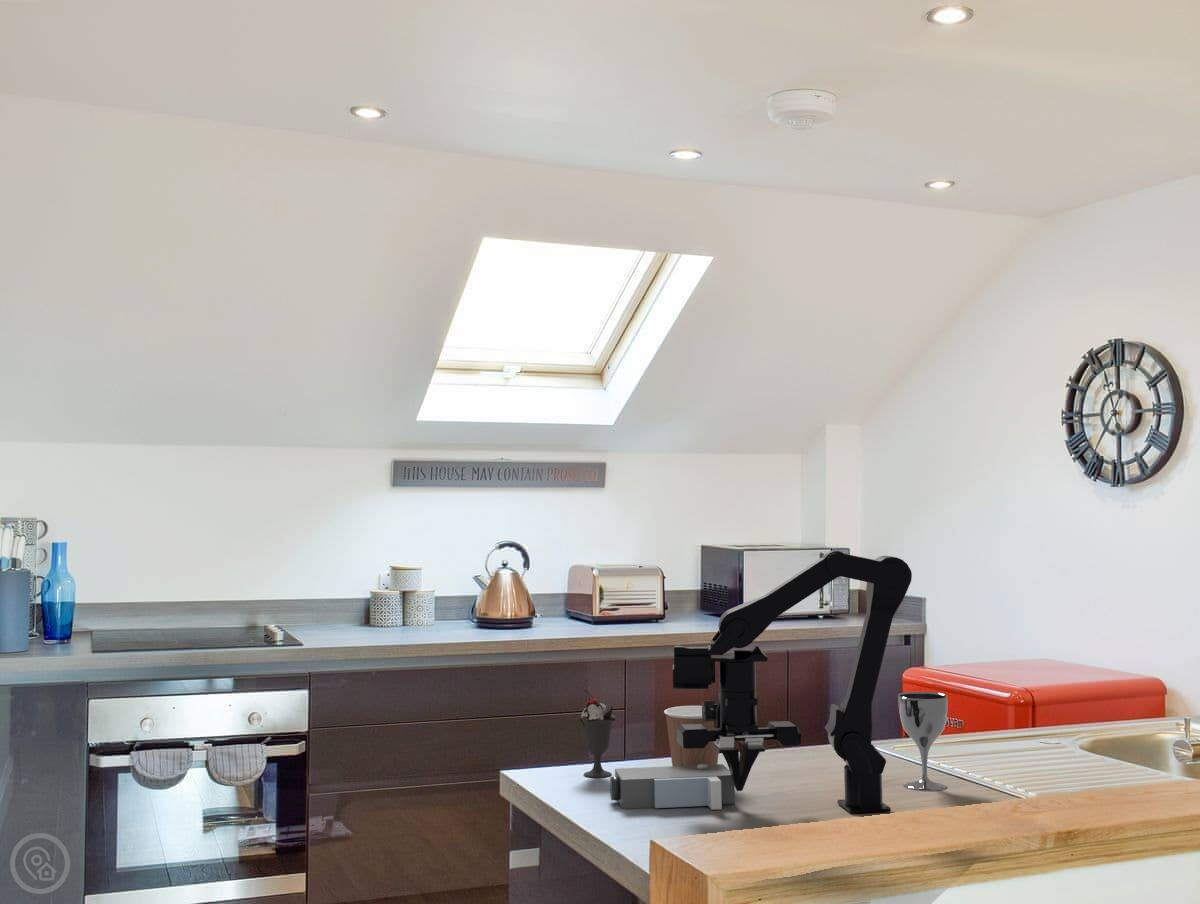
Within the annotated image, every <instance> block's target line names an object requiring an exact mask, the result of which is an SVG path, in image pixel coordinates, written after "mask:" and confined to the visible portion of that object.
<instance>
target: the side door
mask: <svg viewBox="0 0 1200 904" xmlns="http://www.w3.org/2000/svg"><path fill="white" fill-rule="evenodd" d="M722 805H723V804H721V780H720V779H719V778H718V777H717V776H714V777H690V778H667V779H654V808H655V809H663V808H664V809H665V808H666V809H667V808H668V809H669V808H686V807H688V808H690V807H706V806H707V807H709V809H710V810H722V807H723V806H722Z"/></svg>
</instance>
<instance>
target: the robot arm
mask: <svg viewBox="0 0 1200 904" xmlns="http://www.w3.org/2000/svg"><path fill="white" fill-rule="evenodd" d="M912 575H913V573H912V569H911V568H910V567H909V565H908V563H907V562H906V561H904V559H901V558H899V557H896V556H890V555H881V556H878V557H876V558H874V559H873V558H872V559H871V558H868V557H867V558H866V557H862V556H858V555H857V556H856V555H853V554H848V553H844V552H843V551H839V550H829V551H827V552H825V553H824V555H823V556H821V558H819V559H817V560H815V562H813V563H812V564H809V565H808V566H807V567H805V568H803V569H802V570H801V571H799V572H798V573H796V574H795V575H793V576H791V577H790V578H789V579H787V580H785V581H784V582H782V583H781V584H779V585H777V586H776V587H774V588H773V589H771V590H770V591H769V592H767V593H766V594H763V595H762V596H759V597H757V598H754V599H752V600H749V601H746V602H744V603H742V604H739V605H736V606H734V607H732V608H730V609H728V610H726V611H724V612H723V613H722V615H720V617H719V621H718V625H717V627H718V630H717V632H716V633H715V635H714V636H713V638H711V639H709V643H708V644H707V645H706V646H686V645H675V646H674V647H673V664H672V690H678V691H679V690H680V691H681V690H682V691H683V690H684V691H685V690H695V691H697V690H699V691H700V690H701V691H703V690H707V691H708V690H709V686H712V684H716V662H718V663H719V665H718V667H719V668H718V670H719V679H718V680H719V693H718V702H717V704H716V701H715V700H712V699H711V700H710V699H706V700H702V701H701V706H702V720H703V721H704V722H707V721H714V728H720V729H707V728H706V727H704V726H703V725H702V724H681V725H680V726H679V727H678V728H677V742H678V743H679V744H680V745H681V746H682V747H683V748H686V749H694V748H704V747H705V746H706V745H707V744H708V743H709V742H711V741H714V743H712V744H713V747H714V748H715V749H716V750H717V751H718V752H719V754H722V755H723V757H724V760H725V761H726V764H727V768H728V770H730V773H731V776H732V779H733V782H734V785H735V791H737V792H742V791H743V790H744V787H745V784H747V783H746V782H747V780H748V778H749V774H750V772H751V769H752V767H753V765H754V764H755V762H756V759H757V758H758V757H759V754H760V753H764V752H766V747H765V746H764V744H763V743H764V740H765V741H767V740H776V741H777V742H778V743H779V744H780V745H781V746H785V747H786V746H799V745H802V738H801V737H802V734H801V729H800V728H799V727H798V726H797V725H795V724H794V723H792V722H791V721H789V720H787V721H783V720H782V721H779V720H778V721H768V722H767V726H766V727H759V725H758V724H757V706H758V703H759V702H758V698H757V668H756V667H757V665H756V663H757V662H762V663H763V662H769V661H768V660H769V657H768V656H767V655H766V654H765V653H764V652H763V651H762V650H761V648H760V647H759V645H758V644H755V645H754V646H753V648H751V649H742V648H747V646H749V645H751V644H752V643H753V642H754V641H755V640H756V639H757V638H759V636H760V635H761V634H763V633H764V632H765V630H766V629H767V628H768V627H769V626H770V625H771V624H772V623H773V622H774V620H776V619H777V618H778V617H779V616H780V615H782V614H783V613H785V612H787V611H788V610H790V609H791V608H792V607H794V606H796V605H797V604H799V603H800V602H802V601H804V600H805V599H807V598H809V597H810V596H811V595H813V594H814V593H815V592H817V591H818V590H820V589H822V588H823V587H825V586H827V585H829V583H831V582H832V581H834V580H835V579H837V578H840V577H843V578H846V579H852V580H857V581H861V582H865V583H866V588H865V591H866V612H865V616H864V620H863V625H862V629H861V633H860V636H859V640H858V644H857V648H856V652H855V657H854V662H853V665H852V670H851V674H850V677H849V682H848V686H847V691H846V693H845V695H844V699H843V700H842V701H841V703H840V705H839V706H838V705H836V704H834V703H831V704H830V709H829V712H830V713H829V718H828V722H827V723H826V725H825V726H824V728H825V730H826V731H827V733H828V734H827V737H828V742H829V744H830V745H831V747H832V748H833V750H834V751H835V753H836V754H837V756H838V757H839V758H841V759H842V760H843V762H844V763H845V764H846V765H844V766H843V773H844V775H843V776H844V777H843V778H844V782H843V783H844V799H837V804H838V805H840V806H841V807H842V808H844V809H845V810H847V812H849V813H851V814H852V813H853V814H856V813H857V814H858V813H873V812H874V813H878V812H879V813H880V812H891V810H892V809H891V808H892V807H890V806H889V805H887V804H886V803H884V801H883V772H884V769H885V768H886V766H885V765H886V763H887V759H886V758H885V757H884V756H883V755H882V753H881V752H880V750H878V748H877V747H876V746H874V745H873V744H872V739H873V738H872V736H873V734H872V733H873V706H872V705H873V700H874V697H875V692H876V688H877V684H878V680H879V675H880V671H881V667H882V663H883V661H884V660H883V659H884V655H885V652H886V647H887V644H888V643H887V642H888V639H889V634H890V631H891V626H892V622H893V618H894V617H895V614H896V612H897V611H898V610H899V608H900V606H901V604H902V603H903V601H904V598H905V596H906V594H907V592H908V589H909V587H910V585H911V582H912ZM733 648H734V649H733ZM735 648H736V649H735ZM732 649H733V652H732V655H725V654H726V653H728V652H729V651H730V650H732ZM736 741H738V748H737V747H736V746H735V743H736Z"/></svg>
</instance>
